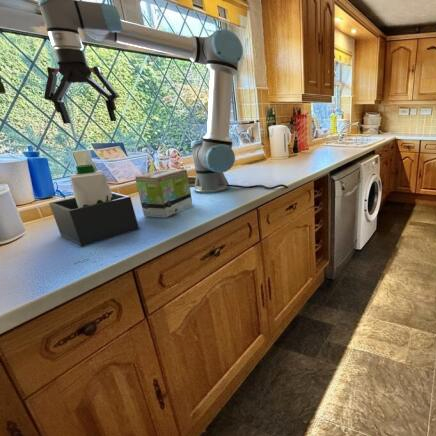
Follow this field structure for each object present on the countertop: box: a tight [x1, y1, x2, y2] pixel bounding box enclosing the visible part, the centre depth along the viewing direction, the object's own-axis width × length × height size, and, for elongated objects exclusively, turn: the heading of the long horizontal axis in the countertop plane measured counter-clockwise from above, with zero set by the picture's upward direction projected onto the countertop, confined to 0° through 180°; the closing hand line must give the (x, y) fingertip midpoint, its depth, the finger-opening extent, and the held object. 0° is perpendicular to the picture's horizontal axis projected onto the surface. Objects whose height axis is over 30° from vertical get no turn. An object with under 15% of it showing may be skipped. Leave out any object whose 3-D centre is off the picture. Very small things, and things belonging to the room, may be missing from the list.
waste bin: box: [48, 191, 140, 248], centre depth 93 cm, size 16×16×11 cm
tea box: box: [134, 168, 194, 219], centre depth 111 cm, size 15×10×15 cm
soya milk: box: [70, 164, 113, 208], centre depth 91 cm, size 9×9×20 cm
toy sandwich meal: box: [188, 175, 196, 187], centre depth 155 cm, size 12×14×5 cm
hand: (90, 122), depth 100 cm, fingers open, 13 cm apart
